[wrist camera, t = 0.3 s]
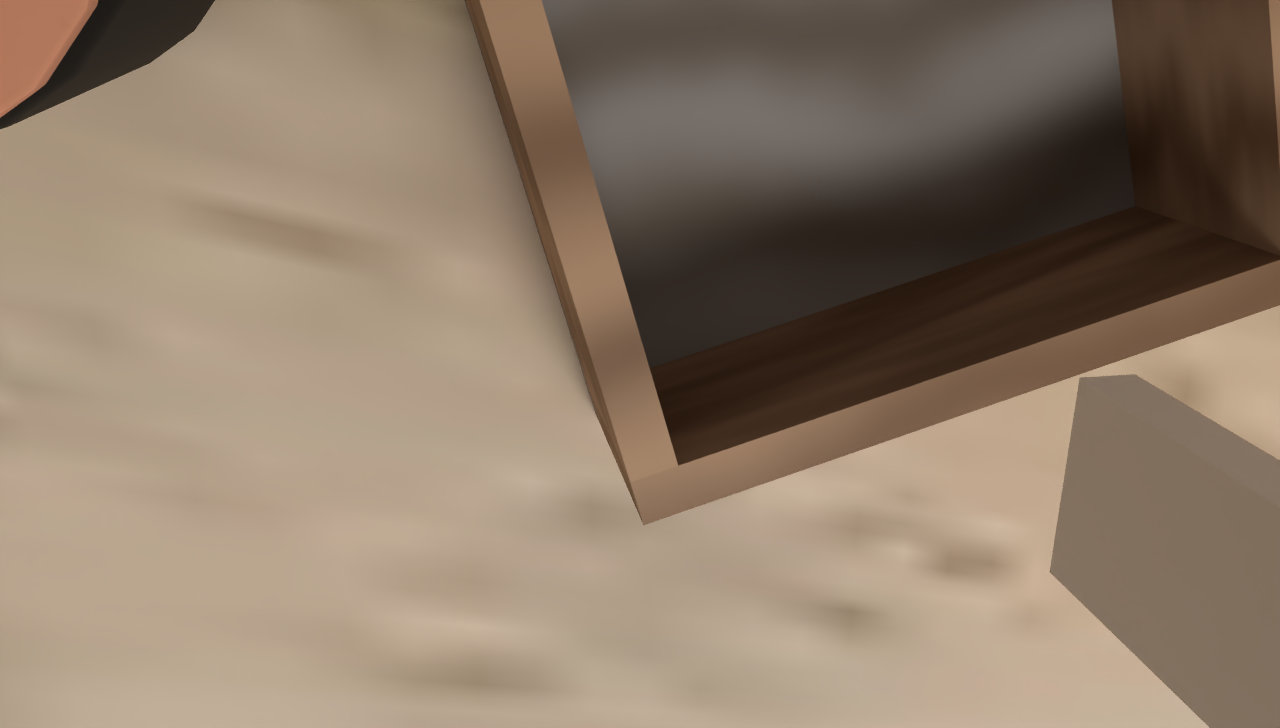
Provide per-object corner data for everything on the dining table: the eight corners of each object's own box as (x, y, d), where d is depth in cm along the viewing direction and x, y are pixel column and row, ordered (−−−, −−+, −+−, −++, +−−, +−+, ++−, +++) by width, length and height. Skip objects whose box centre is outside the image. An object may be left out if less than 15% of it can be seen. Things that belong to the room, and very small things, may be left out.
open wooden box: (381, -262, 35) (377, -327, 27) (1089, -460, 37) (1287, -577, 29) (597, 417, 43) (643, 525, 35) (1162, 226, 45) (1331, 287, 37)
